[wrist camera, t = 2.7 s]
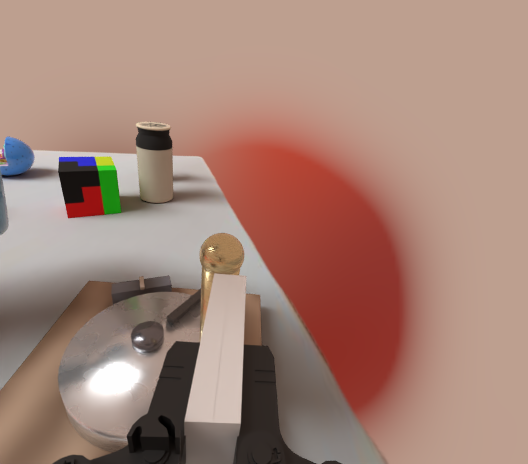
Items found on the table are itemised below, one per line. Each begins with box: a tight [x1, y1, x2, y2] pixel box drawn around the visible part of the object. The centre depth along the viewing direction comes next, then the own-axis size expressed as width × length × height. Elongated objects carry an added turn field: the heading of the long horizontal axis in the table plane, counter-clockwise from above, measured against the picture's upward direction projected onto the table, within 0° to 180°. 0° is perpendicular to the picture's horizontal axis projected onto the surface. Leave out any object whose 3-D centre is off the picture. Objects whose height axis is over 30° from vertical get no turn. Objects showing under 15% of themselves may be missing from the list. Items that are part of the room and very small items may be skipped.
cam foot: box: [58, 233, 244, 452], centre depth 26 cm, size 16×17×18 cm
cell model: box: [0, 137, 34, 176], centre depth 72 cm, size 10×12×10 cm
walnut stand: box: [0, 276, 262, 464], centre depth 30 cm, size 24×24×6 cm
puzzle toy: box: [58, 157, 121, 218], centre depth 63 cm, size 10×10×10 cm
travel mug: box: [136, 122, 173, 203], centre depth 70 cm, size 8×8×18 cm
